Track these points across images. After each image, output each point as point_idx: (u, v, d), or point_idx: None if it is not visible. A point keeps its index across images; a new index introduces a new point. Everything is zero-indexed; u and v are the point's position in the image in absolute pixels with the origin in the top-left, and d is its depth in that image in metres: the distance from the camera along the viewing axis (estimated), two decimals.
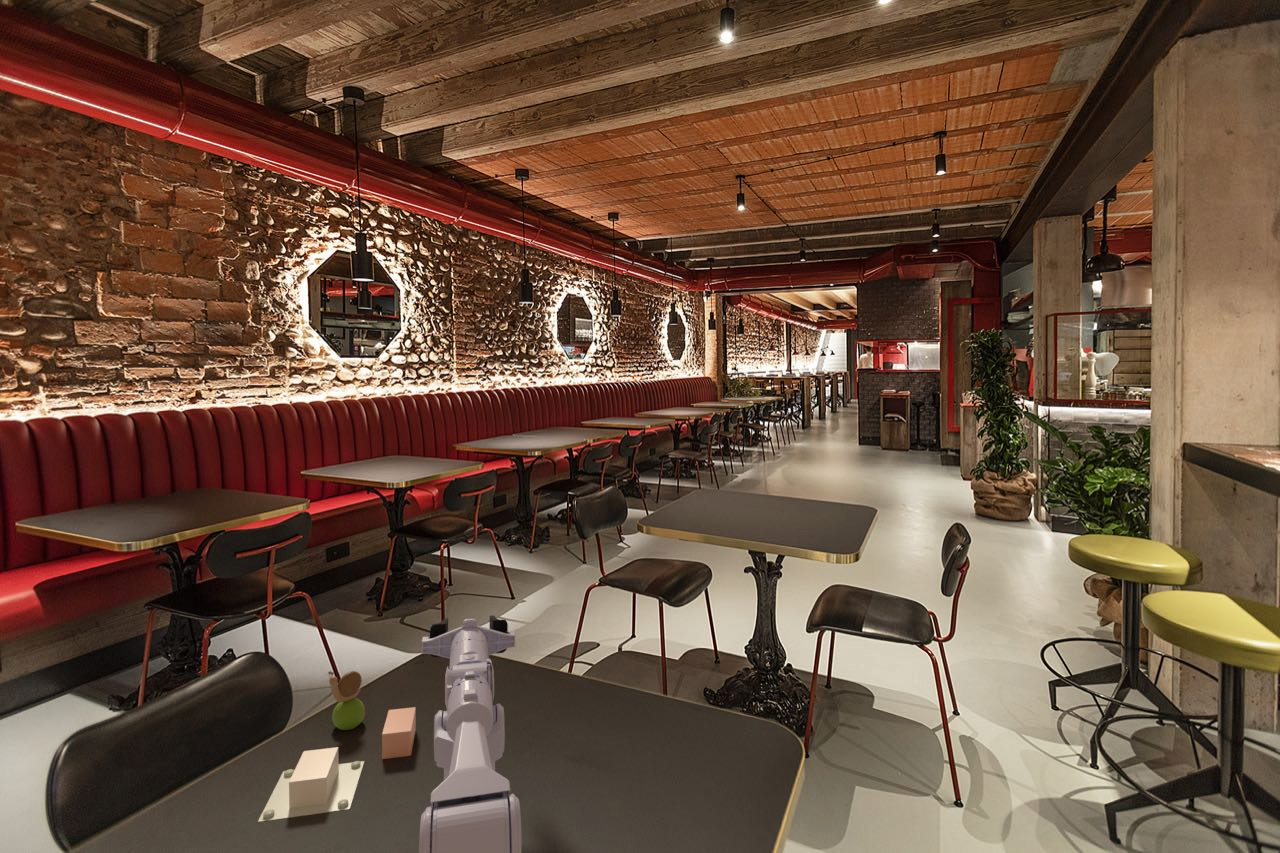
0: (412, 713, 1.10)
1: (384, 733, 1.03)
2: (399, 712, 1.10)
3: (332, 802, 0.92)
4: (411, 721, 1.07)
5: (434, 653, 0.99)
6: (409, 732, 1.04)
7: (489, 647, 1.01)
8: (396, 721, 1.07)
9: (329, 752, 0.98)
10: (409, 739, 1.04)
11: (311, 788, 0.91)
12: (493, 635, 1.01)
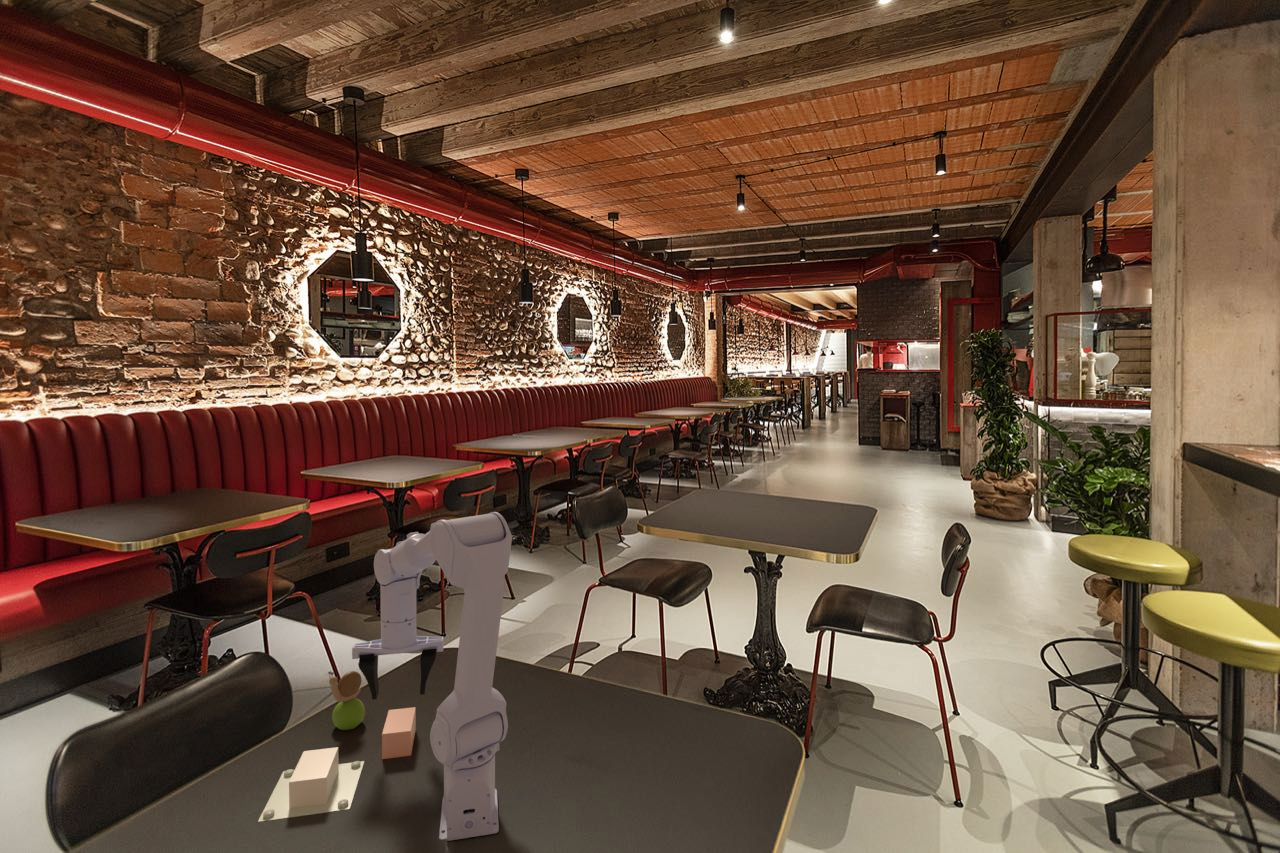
0: (412, 713, 1.10)
1: (384, 733, 1.03)
2: (399, 712, 1.10)
3: (332, 802, 0.92)
4: (411, 721, 1.07)
5: (364, 648, 1.04)
6: (409, 732, 1.04)
7: (418, 645, 1.07)
8: (396, 721, 1.07)
9: (329, 752, 0.98)
10: (409, 739, 1.04)
11: (311, 788, 0.91)
12: None
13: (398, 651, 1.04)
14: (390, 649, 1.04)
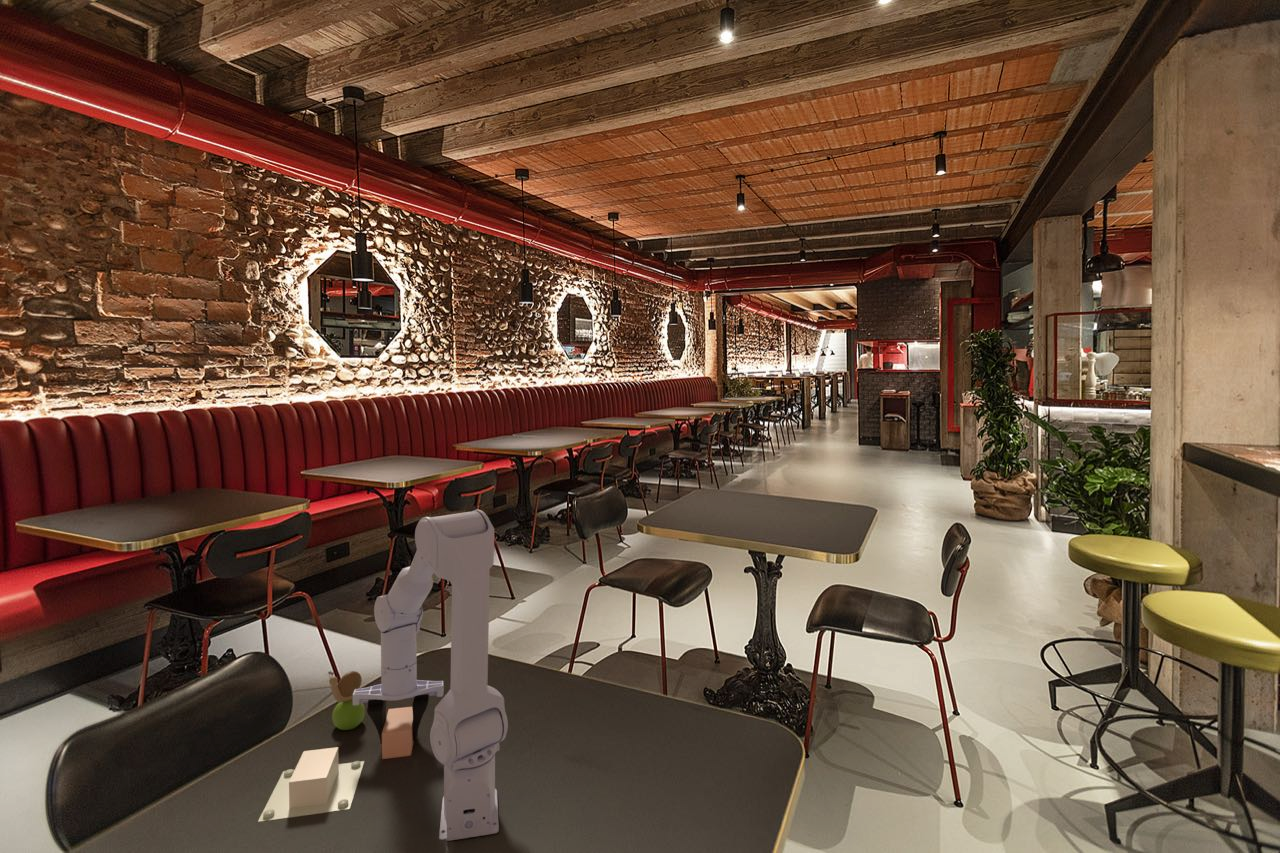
0: (412, 712, 1.10)
1: (384, 732, 1.03)
2: (399, 711, 1.10)
3: (332, 802, 0.92)
4: (411, 720, 1.07)
5: None
6: (409, 731, 1.04)
7: (418, 690, 1.07)
8: (396, 720, 1.07)
9: (329, 752, 0.98)
10: (409, 738, 1.04)
11: (311, 788, 0.91)
12: (422, 685, 1.09)
13: (398, 698, 1.04)
14: (390, 696, 1.04)
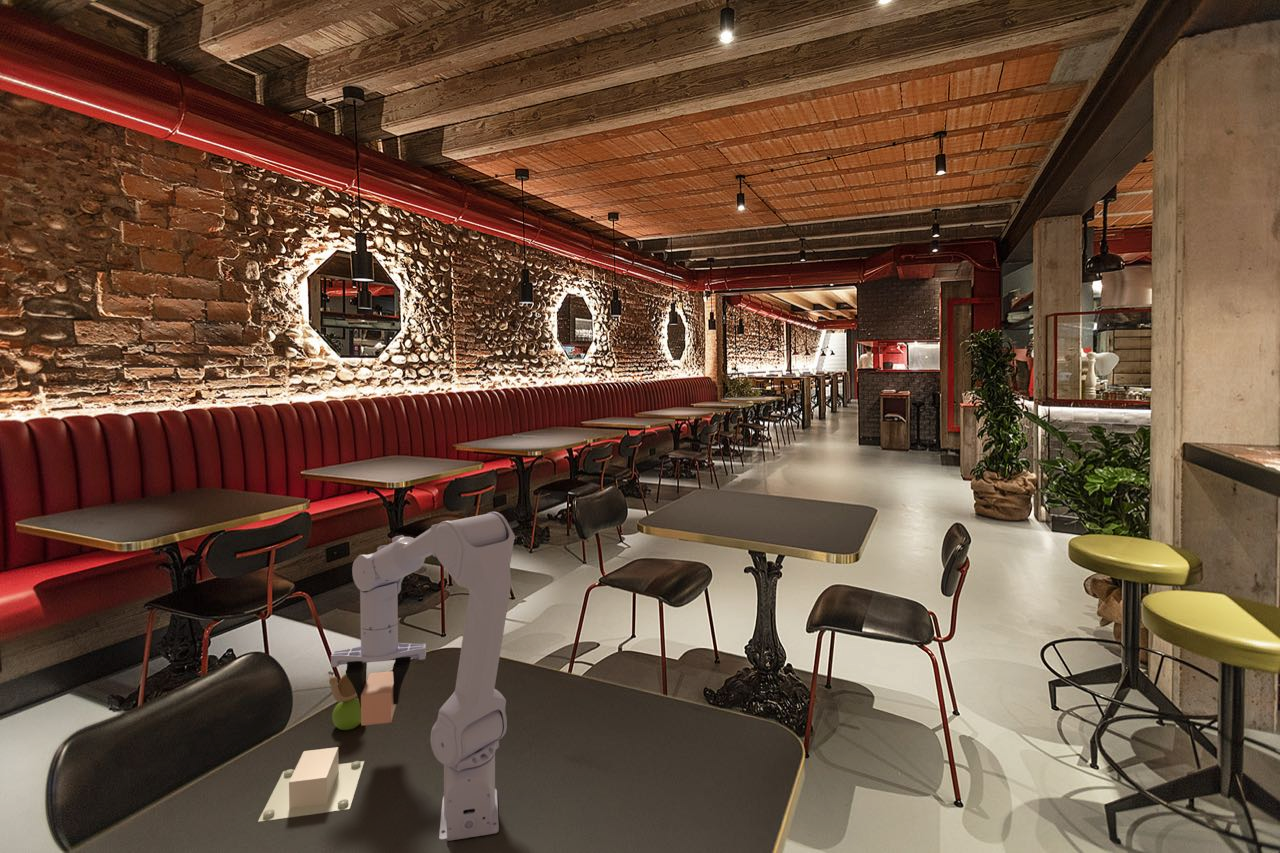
0: None
1: (363, 694, 1.00)
2: (381, 675, 1.07)
3: (332, 802, 0.92)
4: (392, 683, 1.04)
5: (343, 655, 1.01)
6: (389, 694, 1.01)
7: (399, 652, 1.03)
8: (376, 683, 1.04)
9: (329, 752, 0.98)
10: (389, 701, 1.01)
11: (311, 788, 0.91)
12: None
13: (378, 659, 1.01)
14: (370, 657, 1.01)
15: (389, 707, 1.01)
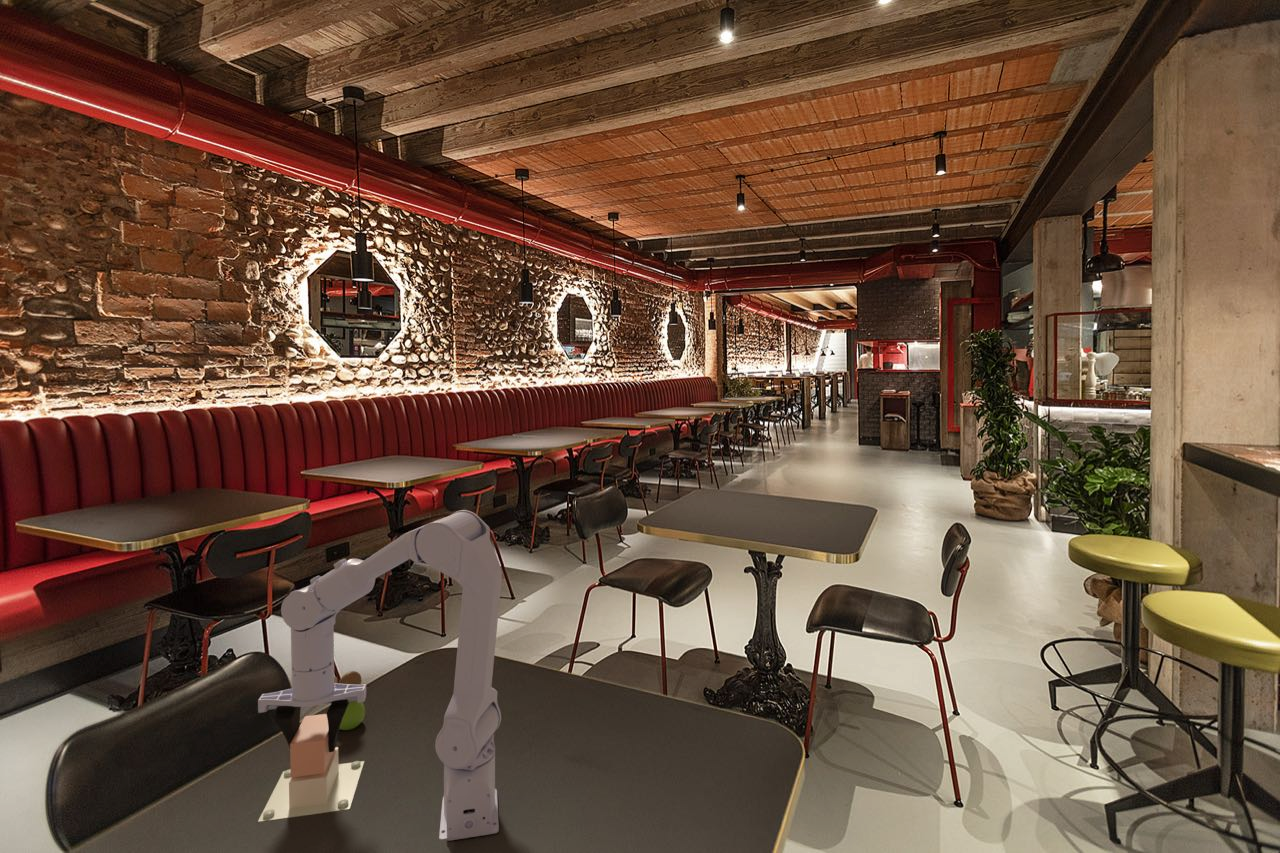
0: None
1: (293, 743, 0.91)
2: (317, 718, 0.97)
3: (332, 802, 0.92)
4: (327, 729, 0.94)
5: (272, 700, 0.92)
6: (322, 742, 0.91)
7: (335, 695, 0.94)
8: (309, 729, 0.94)
9: None
10: (322, 750, 0.92)
11: (311, 788, 0.91)
12: (342, 689, 0.96)
13: (310, 704, 0.92)
14: (301, 701, 0.92)
15: (322, 756, 0.92)
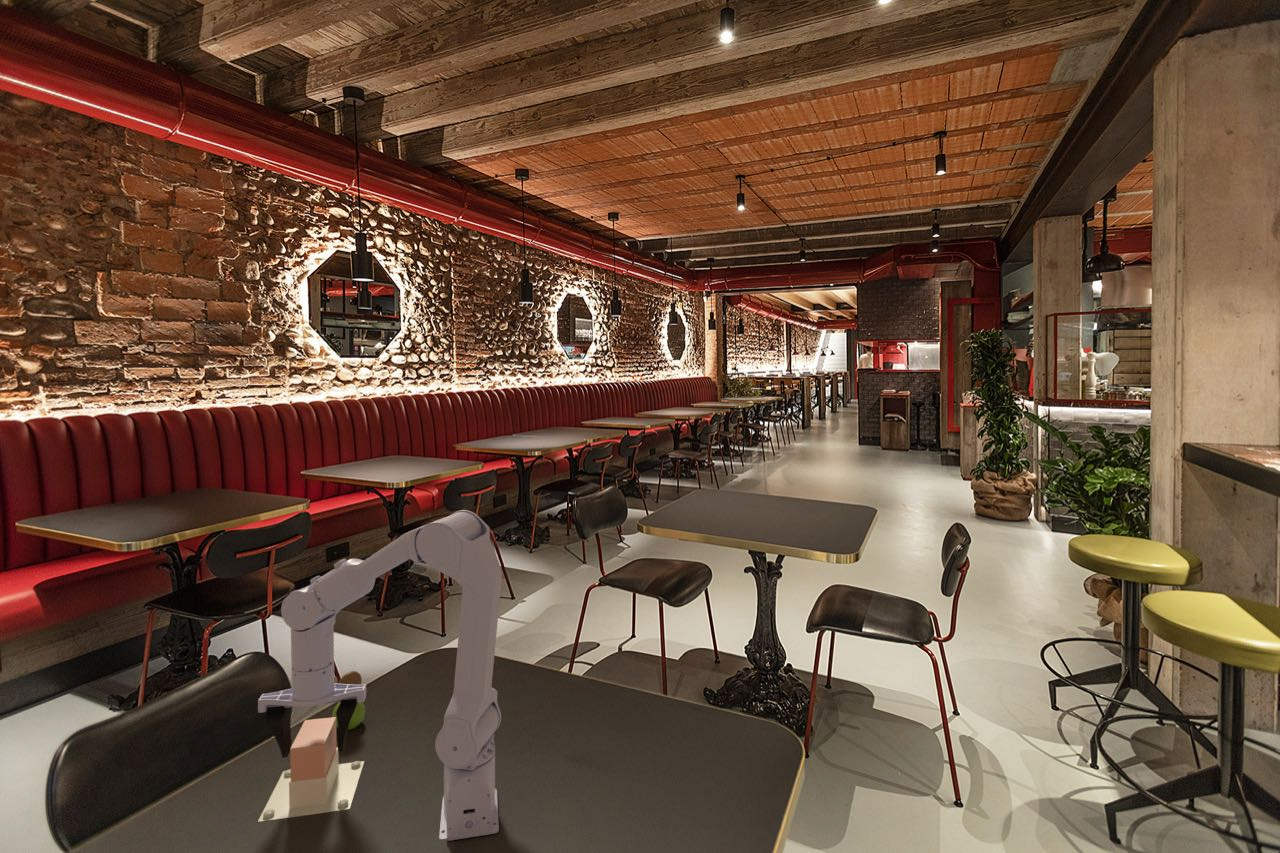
0: (330, 724, 0.97)
1: (293, 747, 0.91)
2: (317, 722, 0.97)
3: (332, 802, 0.92)
4: (327, 733, 0.94)
5: (272, 700, 0.92)
6: (322, 746, 0.92)
7: (335, 695, 0.94)
8: (310, 733, 0.94)
9: None
10: (322, 754, 0.92)
11: (311, 788, 0.91)
12: (342, 689, 0.96)
13: (310, 704, 0.92)
14: (301, 701, 0.92)
15: (322, 761, 0.92)
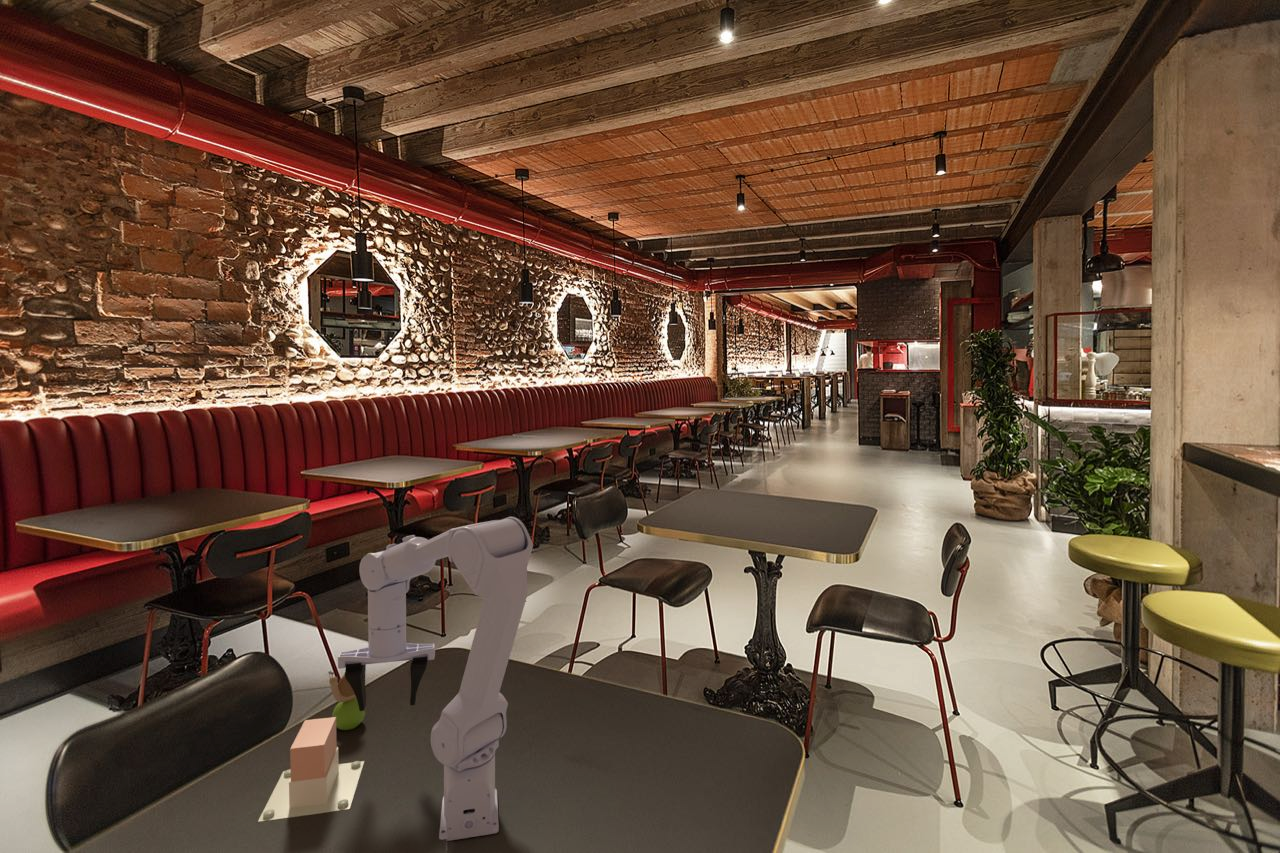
0: (330, 724, 0.97)
1: (293, 747, 0.91)
2: (317, 722, 0.97)
3: (332, 802, 0.92)
4: (327, 733, 0.94)
5: (350, 656, 0.99)
6: (322, 746, 0.92)
7: (408, 653, 1.01)
8: (310, 733, 0.94)
9: None
10: (322, 754, 0.92)
11: (311, 788, 0.91)
12: (412, 648, 1.03)
13: (387, 660, 0.98)
14: (378, 658, 0.98)
15: (322, 761, 0.92)
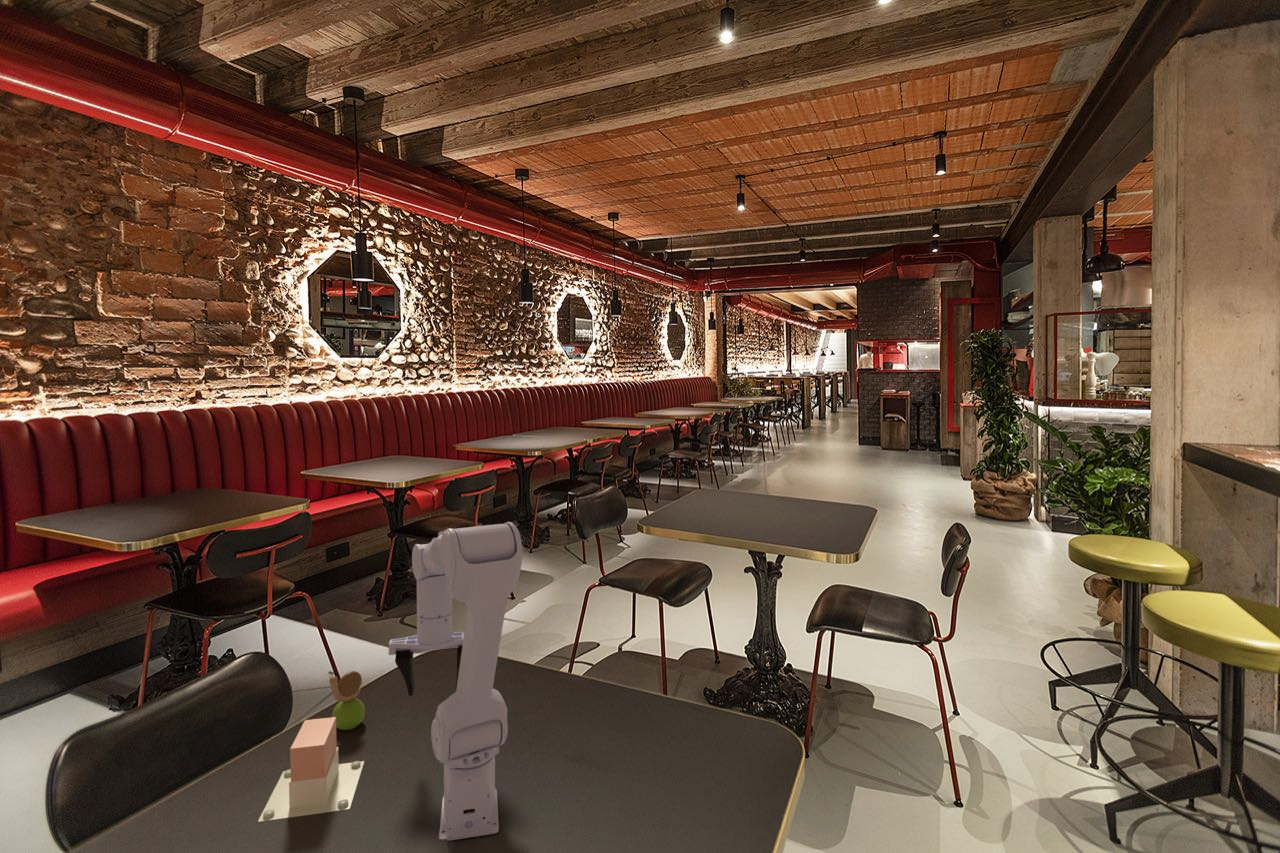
0: (330, 724, 0.97)
1: (293, 747, 0.91)
2: (317, 722, 0.97)
3: (332, 802, 0.92)
4: (327, 733, 0.94)
5: (400, 644, 1.04)
6: (322, 746, 0.92)
7: (454, 641, 1.06)
8: (310, 733, 0.94)
9: None
10: (322, 754, 0.92)
11: (311, 788, 0.91)
12: None
13: (435, 647, 1.03)
14: (427, 645, 1.03)
15: (322, 761, 0.92)
